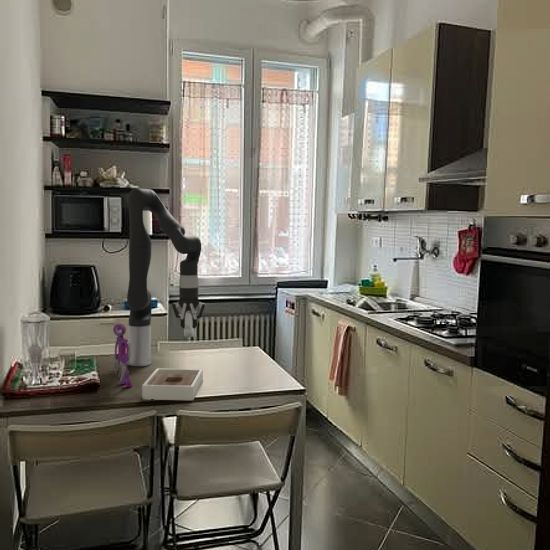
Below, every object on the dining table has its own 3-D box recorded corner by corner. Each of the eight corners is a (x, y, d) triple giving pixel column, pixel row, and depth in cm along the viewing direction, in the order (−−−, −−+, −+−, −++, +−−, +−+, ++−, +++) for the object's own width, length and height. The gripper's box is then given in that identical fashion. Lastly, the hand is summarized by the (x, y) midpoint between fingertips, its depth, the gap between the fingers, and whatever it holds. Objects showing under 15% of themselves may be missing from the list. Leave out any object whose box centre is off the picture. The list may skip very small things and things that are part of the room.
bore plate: (150, 393, 204) (150, 384, 204) (159, 381, 218) (159, 373, 218) (189, 393, 204) (189, 385, 203) (195, 382, 218) (195, 374, 217)
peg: (183, 336, 228) (183, 312, 226) (185, 334, 232) (184, 310, 230) (193, 337, 228) (193, 312, 226) (194, 334, 232) (194, 310, 230)
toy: (103, 382, 219) (102, 321, 216) (121, 379, 223) (120, 319, 220) (119, 393, 206) (118, 328, 204) (137, 390, 210) (136, 326, 208)
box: (142, 399, 200) (142, 385, 200) (156, 380, 222) (156, 368, 222) (193, 400, 200) (193, 386, 199) (202, 381, 222) (202, 369, 221)
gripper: (169, 287, 224) (169, 329, 226) (205, 287, 223) (205, 330, 225) (172, 284, 231) (173, 326, 233) (207, 285, 231) (207, 326, 233)
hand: (189, 327), depth 229 cm, fingers closed on peg, 4 cm apart
